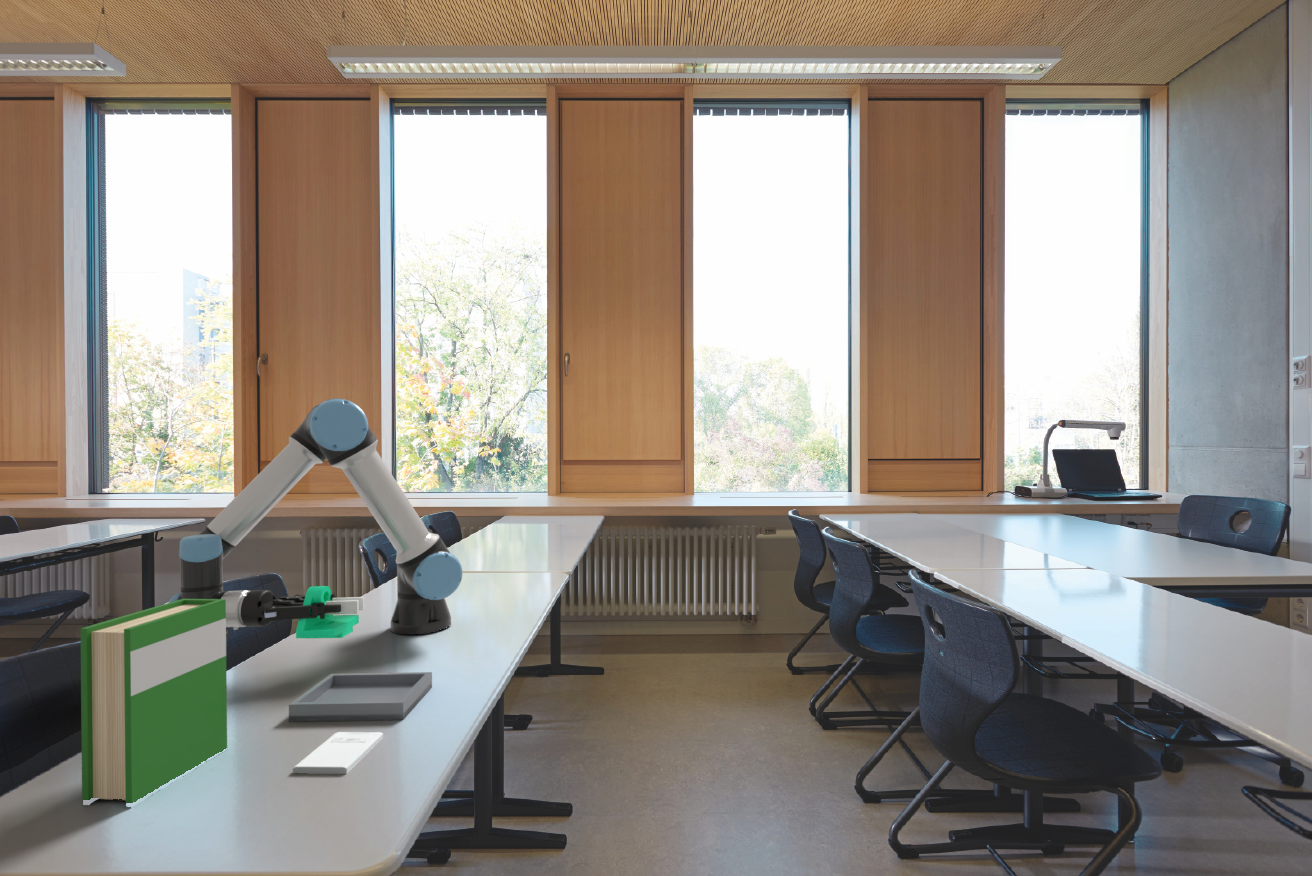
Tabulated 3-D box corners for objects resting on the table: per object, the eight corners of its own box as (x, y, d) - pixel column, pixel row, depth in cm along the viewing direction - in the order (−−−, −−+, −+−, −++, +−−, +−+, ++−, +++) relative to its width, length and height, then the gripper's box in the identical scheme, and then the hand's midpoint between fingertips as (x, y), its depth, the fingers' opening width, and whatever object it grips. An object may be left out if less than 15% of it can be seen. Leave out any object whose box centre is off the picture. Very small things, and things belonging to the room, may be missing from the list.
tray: (331, 689, 137) (330, 673, 137) (432, 687, 137) (431, 672, 137) (289, 721, 121) (288, 704, 121) (403, 719, 121) (403, 702, 121)
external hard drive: (292, 777, 102) (335, 740, 114) (346, 778, 102) (383, 741, 114) (292, 766, 102) (335, 731, 114) (346, 767, 102) (383, 731, 114)
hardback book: (131, 808, 93) (130, 629, 93) (82, 805, 94) (80, 628, 94) (227, 749, 110) (225, 599, 110) (184, 748, 111) (183, 598, 111)
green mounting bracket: (333, 643, 140) (331, 592, 140) (296, 643, 140) (294, 593, 140) (360, 626, 152) (359, 579, 152) (326, 627, 152) (325, 580, 152)
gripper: (269, 616, 154) (375, 613, 154) (227, 636, 138) (345, 633, 138) (268, 583, 153) (374, 579, 154) (226, 599, 138) (344, 595, 138)
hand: (360, 605), depth 146 cm, fingers closed on green mounting bracket, 2 cm apart
